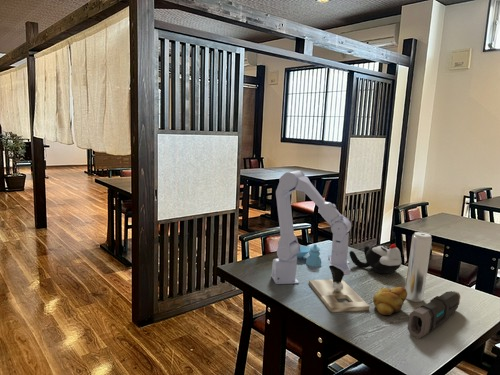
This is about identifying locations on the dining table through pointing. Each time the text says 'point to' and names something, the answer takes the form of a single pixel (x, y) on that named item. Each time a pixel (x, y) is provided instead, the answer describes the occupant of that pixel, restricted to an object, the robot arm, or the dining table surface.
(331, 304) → the ash board
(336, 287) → the steel ball
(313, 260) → the light blue lumpy shape
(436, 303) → the tube
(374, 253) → the toy
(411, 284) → the silver cylinder
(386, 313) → the bread roll
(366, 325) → the dining table surface
